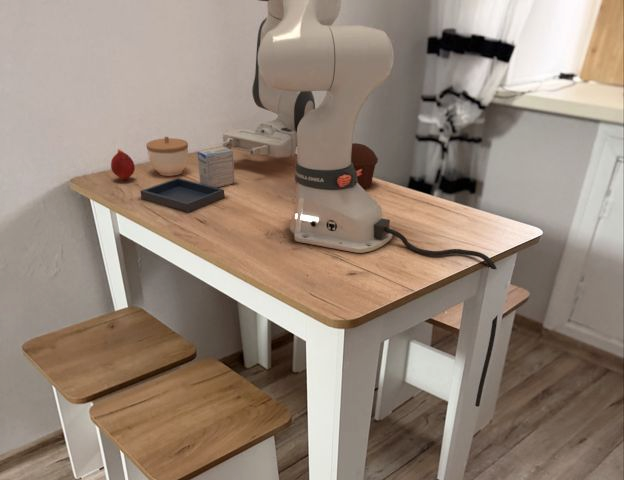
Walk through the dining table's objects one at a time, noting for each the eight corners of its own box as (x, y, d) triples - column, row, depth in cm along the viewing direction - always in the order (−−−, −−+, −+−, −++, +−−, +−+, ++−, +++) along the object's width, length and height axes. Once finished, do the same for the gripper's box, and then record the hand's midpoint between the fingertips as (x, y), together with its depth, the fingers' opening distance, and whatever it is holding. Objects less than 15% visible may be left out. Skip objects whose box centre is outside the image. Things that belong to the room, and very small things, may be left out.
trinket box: (198, 172, 163) (195, 136, 157) (166, 181, 156) (162, 144, 151) (174, 164, 168) (170, 129, 163) (142, 172, 162) (137, 137, 156)
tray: (224, 197, 146) (224, 189, 145) (188, 212, 137) (187, 204, 136) (178, 185, 153) (177, 177, 152) (141, 198, 144) (140, 190, 143)
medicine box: (225, 179, 158) (223, 146, 153) (235, 183, 155) (233, 149, 150) (199, 185, 153) (196, 151, 149) (209, 190, 150) (206, 155, 146)
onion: (139, 177, 158) (135, 146, 154) (132, 184, 153) (127, 152, 149) (118, 176, 159) (113, 145, 154) (110, 183, 154) (104, 151, 150)
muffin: (385, 185, 155) (388, 146, 150) (355, 194, 149) (357, 154, 143) (352, 175, 162) (354, 137, 157) (323, 183, 156) (324, 144, 151)
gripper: (241, 121, 169) (207, 130, 159) (300, 132, 159) (268, 143, 150) (242, 144, 172) (209, 154, 163) (300, 156, 163) (269, 168, 153)
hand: (238, 149), depth 156 cm, fingers open, 8 cm apart
